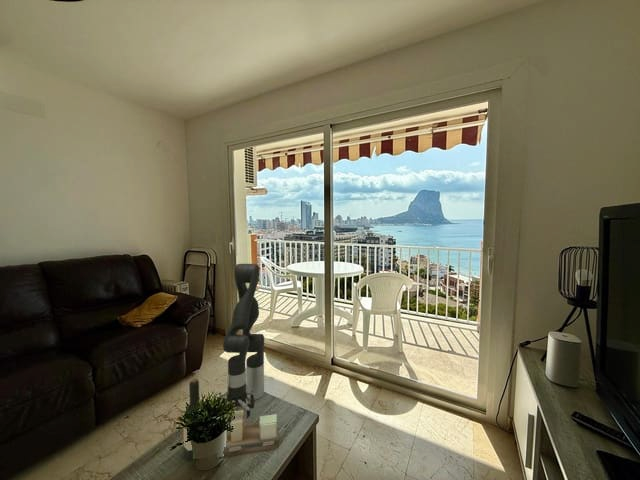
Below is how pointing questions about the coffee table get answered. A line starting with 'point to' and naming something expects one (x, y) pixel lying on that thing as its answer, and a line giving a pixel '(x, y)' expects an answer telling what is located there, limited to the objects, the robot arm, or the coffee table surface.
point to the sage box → (268, 427)
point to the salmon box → (238, 426)
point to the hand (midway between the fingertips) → (237, 418)
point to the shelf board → (249, 442)
